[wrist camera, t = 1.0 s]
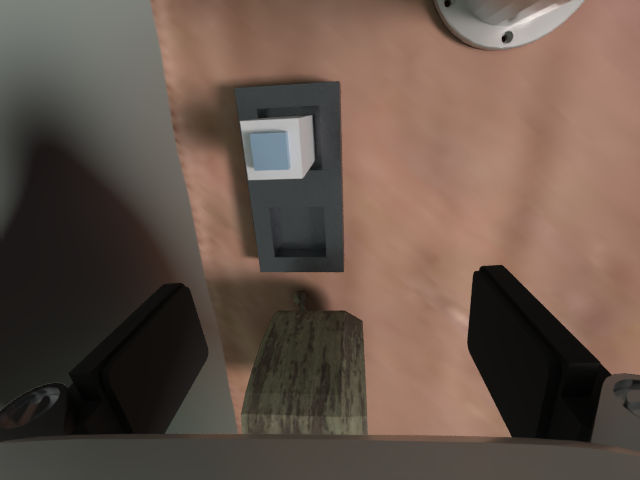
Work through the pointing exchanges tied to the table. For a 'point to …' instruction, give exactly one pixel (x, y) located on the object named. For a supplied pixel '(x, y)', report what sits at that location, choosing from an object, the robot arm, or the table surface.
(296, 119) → the plug
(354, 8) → the table surface
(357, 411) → the tabletop clock
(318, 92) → the panel
